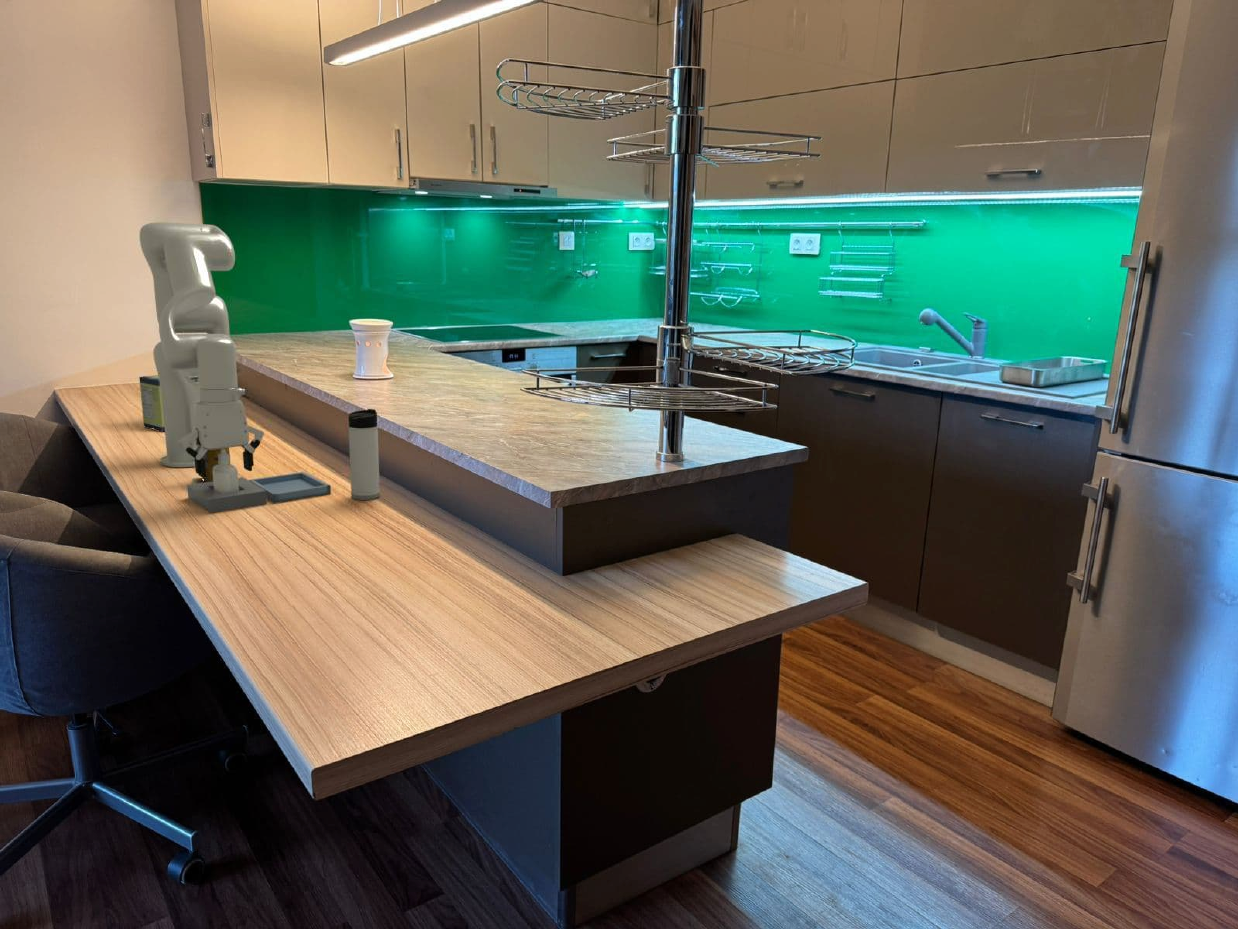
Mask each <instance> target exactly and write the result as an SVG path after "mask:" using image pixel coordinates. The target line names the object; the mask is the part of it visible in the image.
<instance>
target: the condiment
mask: <svg viewBox="0 0 1238 929" xmlns="http://www.w3.org/2000/svg"><path fill="white" fill-rule="evenodd" d="M225 450H226V453H228V454H230V448H225ZM220 453H221V449H213V450H207V452H206V453H205V454H204V456H203V459H204V460H205V467H206V477H204V478H202V477H194V478H191V480H192V482H193V484H194V483H195V484H198V483H205V482H212V481H213V467H214V466H216V465H218V454H220ZM230 455H231V454H230ZM202 479H204V481H203V480H202Z"/></svg>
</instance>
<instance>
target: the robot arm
mask: <svg viewBox="0 0 1238 929" xmlns="http://www.w3.org/2000/svg"><path fill="white" fill-rule="evenodd" d="M139 243H140V244H139V245H140V247H141V252H142V254H143V256H144V258H145V260H146V262H147V264H148V266H149V269H150V271H151V274H152V279H153V289H154V290H153V291H154V300H155V301H154V302H155V309H156V310H155V311H156V318H157V319H156V320H157V323H158V332H159V338H160V341H159V342H157V343H156V344H155V346H154V348H153V352H152V353H153V361H154V364H155V368H156V372H157V375H158V377H159V381H160V388H161V396H162V407H163V417H164V428H165V432H164V436H165V446H166V447H165V448H166V455H165V456H162V457H161V458H160V464H161V465H162V466H165V467H169V468H190V467H191V468H192V467H193V468H195V474H198V476H199V477H200V478H204V477H206V467H205V460H204V459H203V456H204V454H205V453H206V452H207V450H213V449H222V448H229V449H231V448H236V447H237V448H239V447H241V448H242V449H243V452H242V461H243V462H242V463H243V469H244V470H246V471H249V472H252V471H253V466H254V465H255V464H254V453H255V451H256V449H258V447H259V446H260V445H261V442H262V439H263V437H264V435H265V432H264V431H263V430H260V429H257V428H255V427H253V426H249V425H248V420H247V416H246V415H247V413H246V411H245V406H244V404H243V401H242V400H241V398H240V397H241V396H244V395H245V394H246V391H245V388H241V387H239V386H238V385H239V384H238V382H239V381H238V372H237V348H236V344H235V341H233V340H232V338H231V336H230V323H229V322H230V319H229V312H228V309H227V305H226V302H225V301H224V299H223V298H221V297H220V296H218V295H217V294H216V287H215V284H214V280H213V277H212V276H213V275H212V273H211V272H212V271H213V272H217V271H218V272H229V271H231V270H232V269H233V267H234V265H235V261H236V253H235V249H234V245H233V243H232V241H231V239H230V237H229V236H228V235H227V234H226V233H225V232H224V231H222V229H221V228H220V227H218V226H216V225H214V224H203V223H201V224H200V223H185V222H184V223H183V222H168V221H167V222H166V221H165V222H163V221H162V222H161V221H160V222H157V221H155V222H149V223H146V224H144V225H142V226H141V228H140V230H139ZM195 376H198V379H199V387H198V386H197V385H196V384H195V383H194V382H193V381H192V380H191V377H195ZM249 433H250V434H253V435H254V437H253V439H252V440H251V441H250V434H249ZM249 441H250V442H249Z"/></svg>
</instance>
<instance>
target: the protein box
mask: <svg viewBox="0 0 1238 929" xmlns="http://www.w3.org/2000/svg"><path fill="white" fill-rule="evenodd" d="M191 380H192V381H193V382H194V383H195V384H196V385H197V386H198V387H199V379H198V376H195V377H191ZM139 388H140V400H141V409H142V420H143V427H144V426H145V427H148V428H147V429H149V428H154V429H156V430H155V431H157V430H159V431H158V432H161V431H165V428H164V417H163V407H162V396H161V388H160V381H159V377H158V374H156V375H155V374H153V375H146V376H144V375H143V376H139ZM145 427H144V428H145Z"/></svg>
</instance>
